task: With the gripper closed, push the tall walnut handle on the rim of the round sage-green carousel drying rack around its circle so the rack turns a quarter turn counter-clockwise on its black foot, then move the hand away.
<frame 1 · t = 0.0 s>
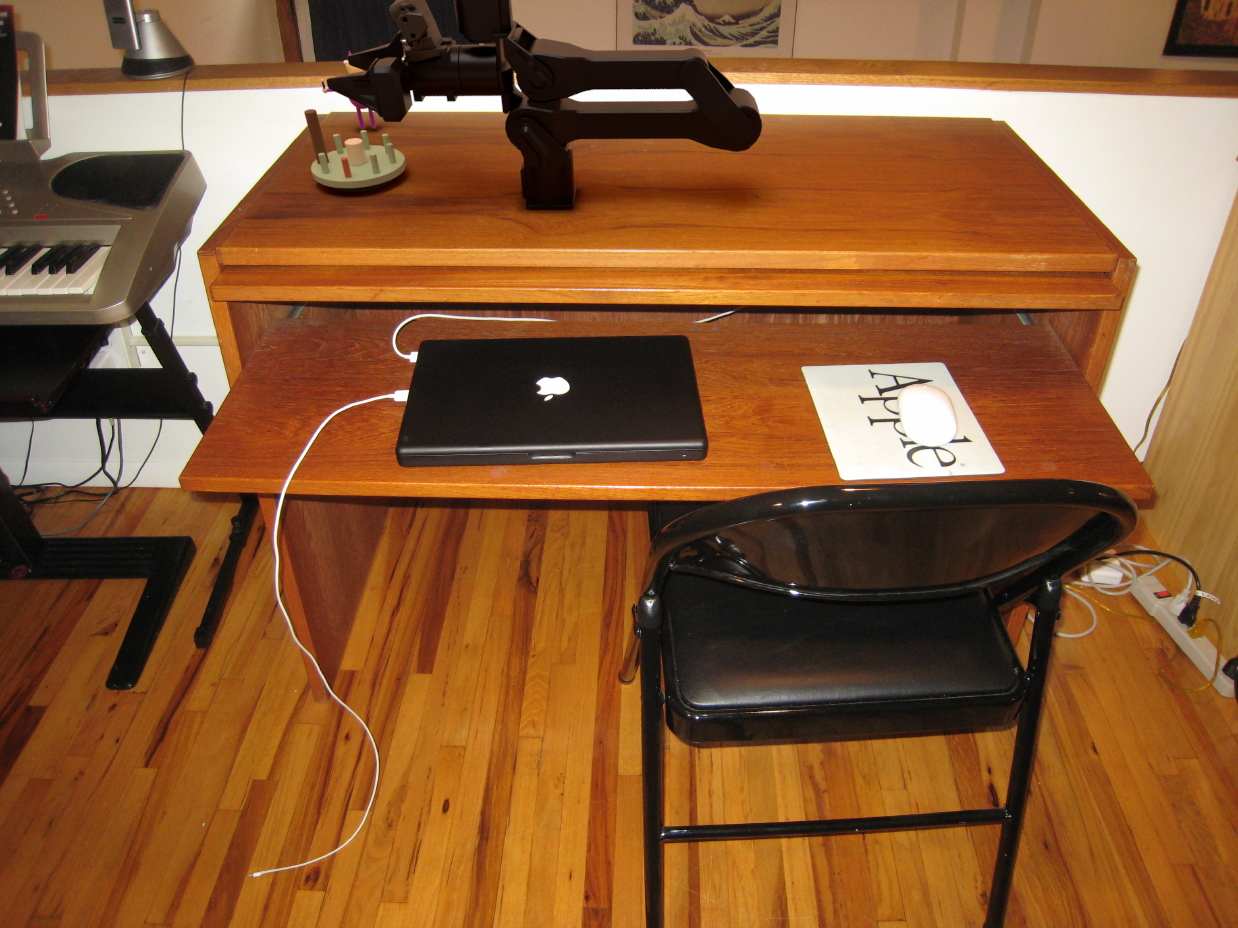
hand: (338, 71, 101), 17 cm above the table, tool horizontal, fingers open, 9 cm apart
drying rack: (353, 141, 114), point 5 cm above the table, hinge at 0.0°
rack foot: (362, 179, 117), on the table
wizard figurine: (368, 132, 132), on the table
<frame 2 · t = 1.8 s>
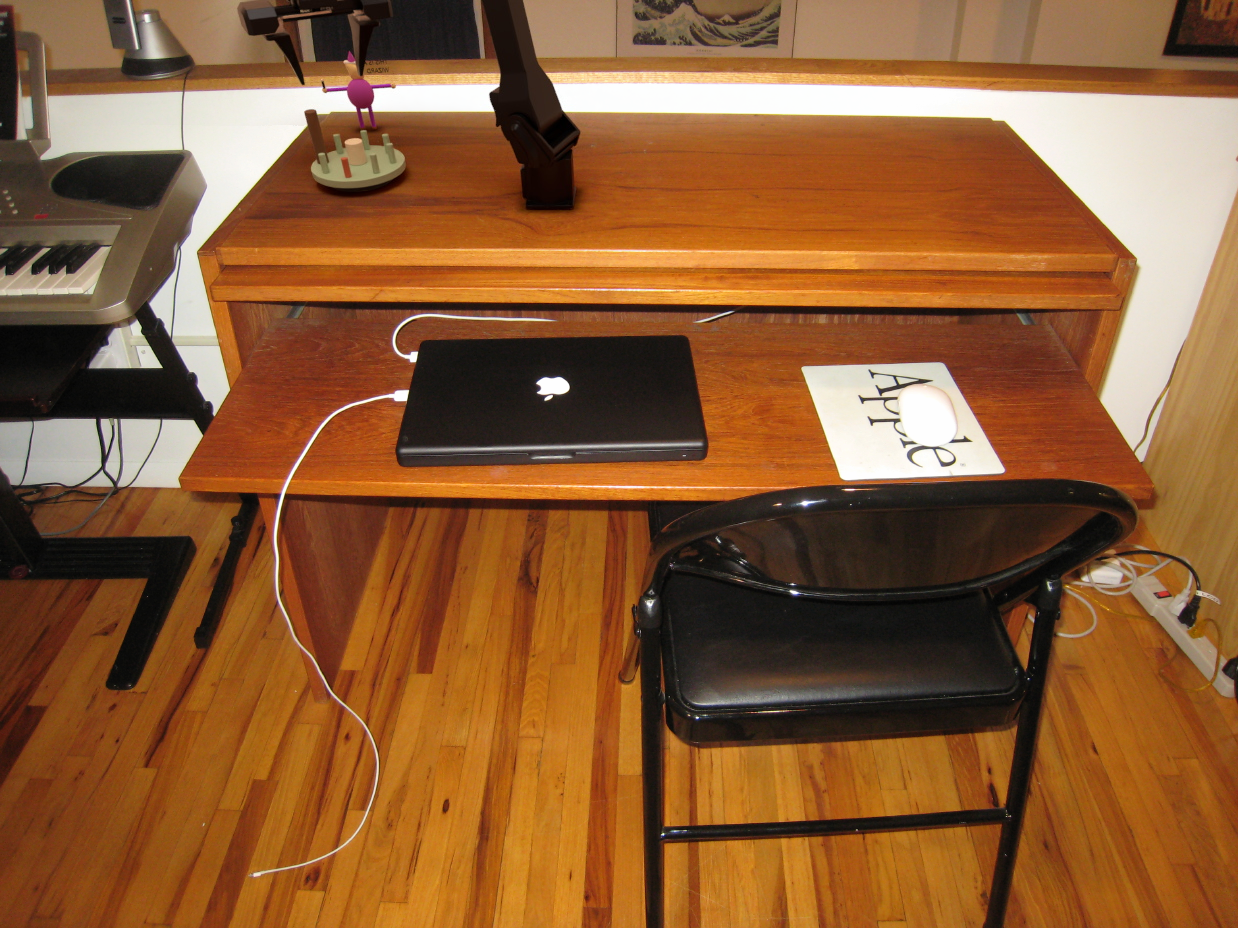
hand: (332, 80, 112), 12 cm above the table, tool pointing down, fingers open, 8 cm apart
nothing on the table moved.
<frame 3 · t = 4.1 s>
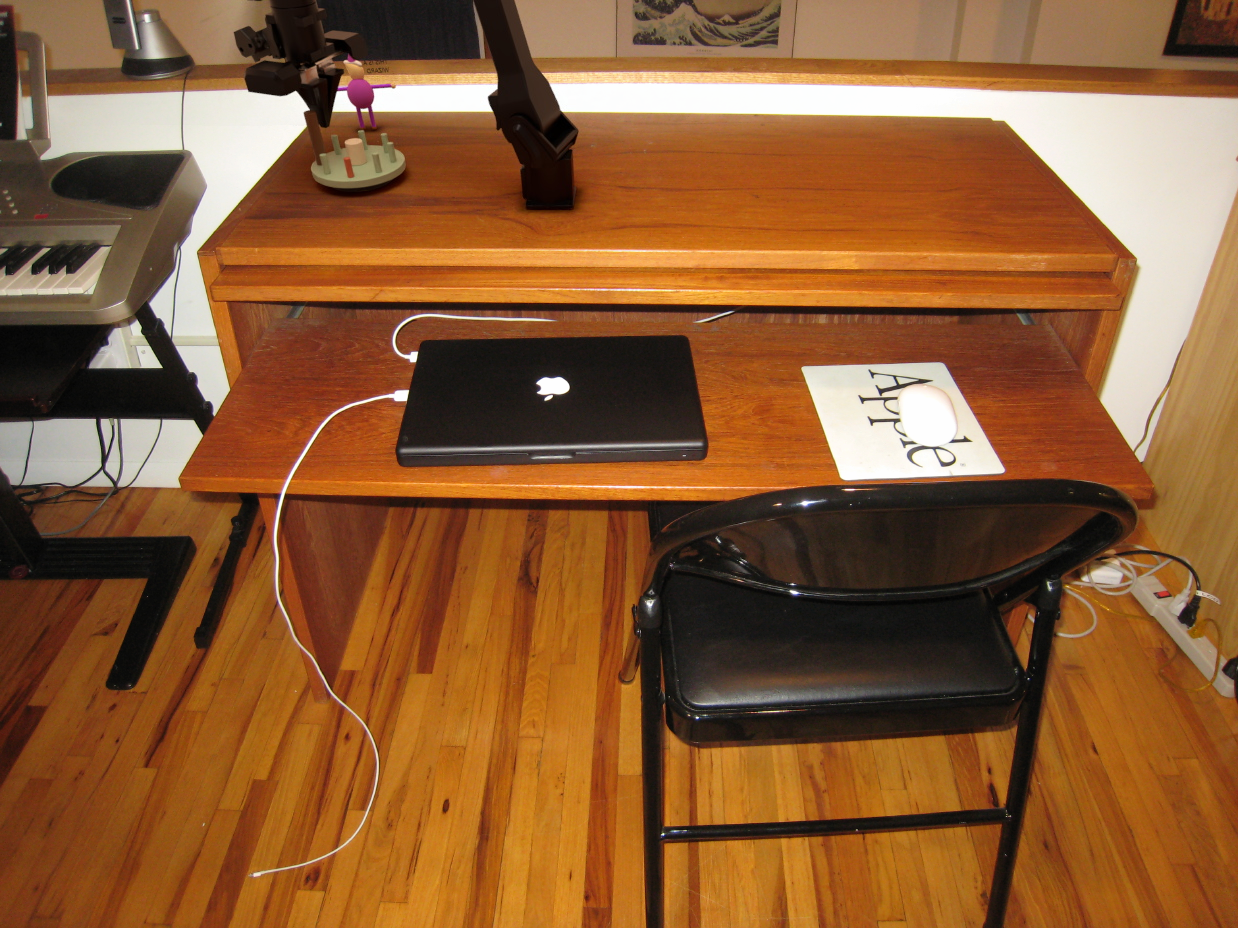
hand: (325, 127, 115), 7 cm above the table, tool pointing down, fingers closed
drying rack: (353, 141, 114), point 5 cm above the table, hinge at 4.1°, touching gripper
everything else where it was.
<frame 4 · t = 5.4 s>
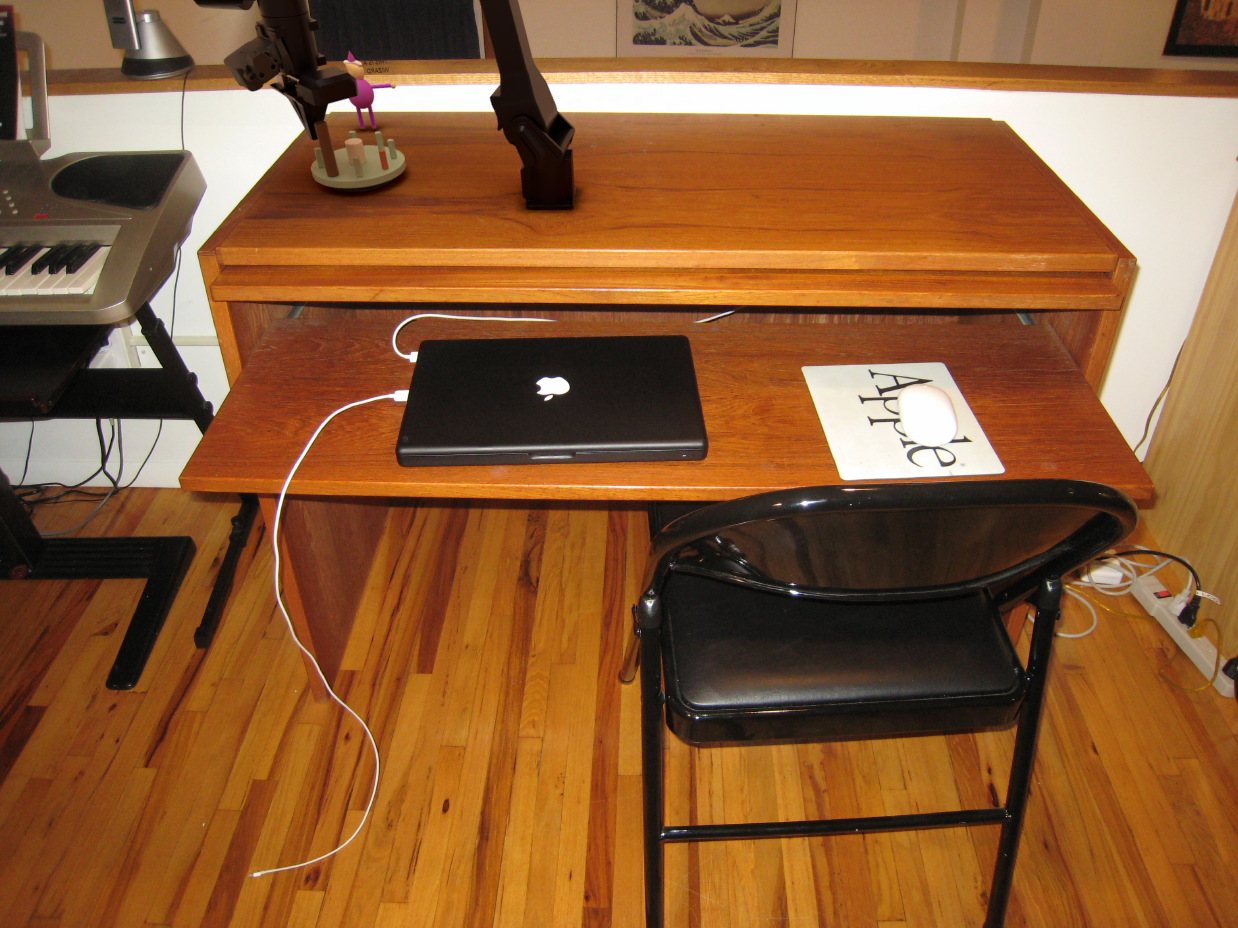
hand: (315, 139, 111), 7 cm above the table, tool pointing down, fingers closed
drying rack: (353, 141, 114), point 5 cm above the table, hinge at 63.2°, touching gripper
everything else where it was.
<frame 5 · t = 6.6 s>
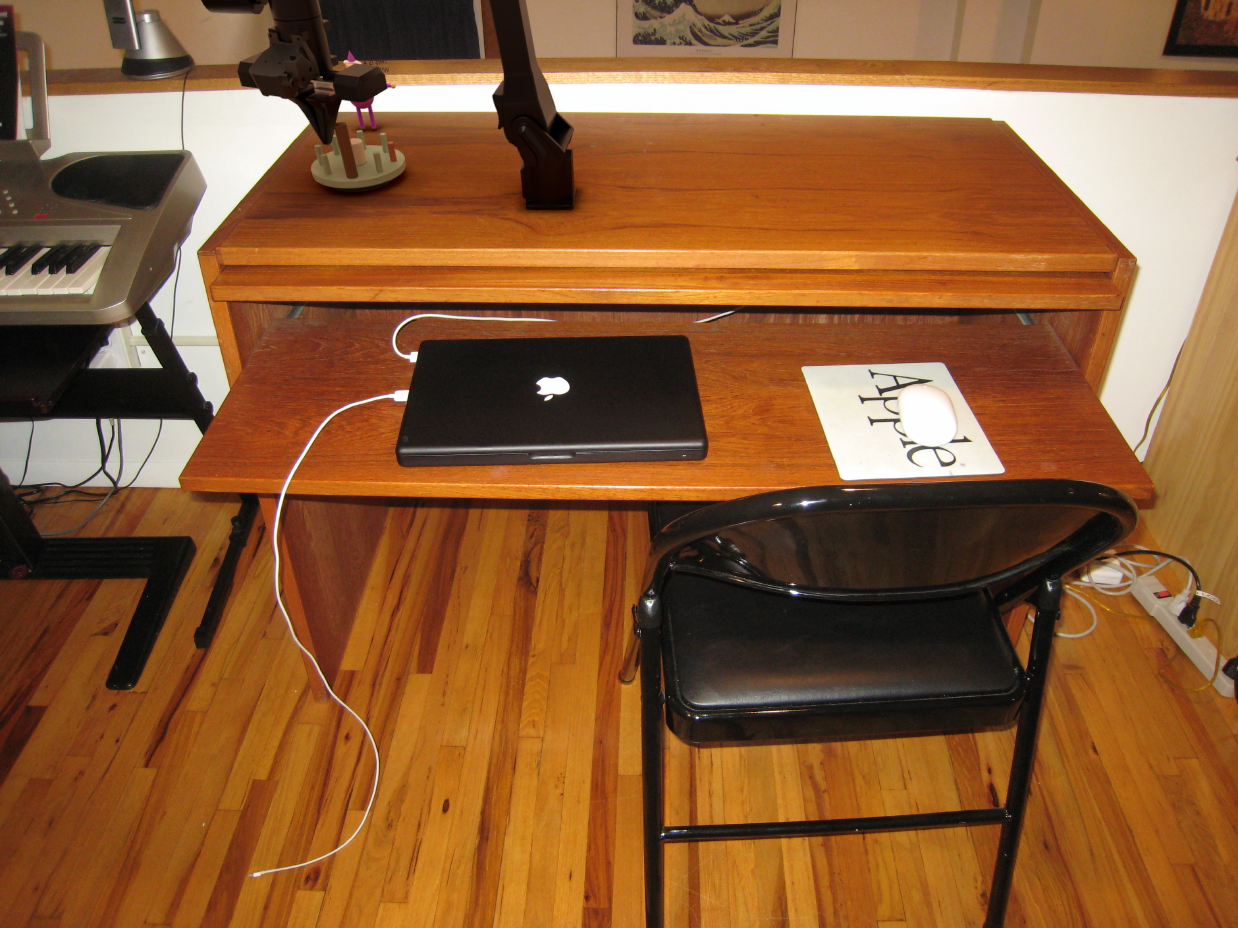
hand: (327, 144, 110), 7 cm above the table, tool pointing down, fingers closed
drying rack: (353, 141, 114), point 5 cm above the table, hinge at 96.4°, touching gripper
everything else where it was.
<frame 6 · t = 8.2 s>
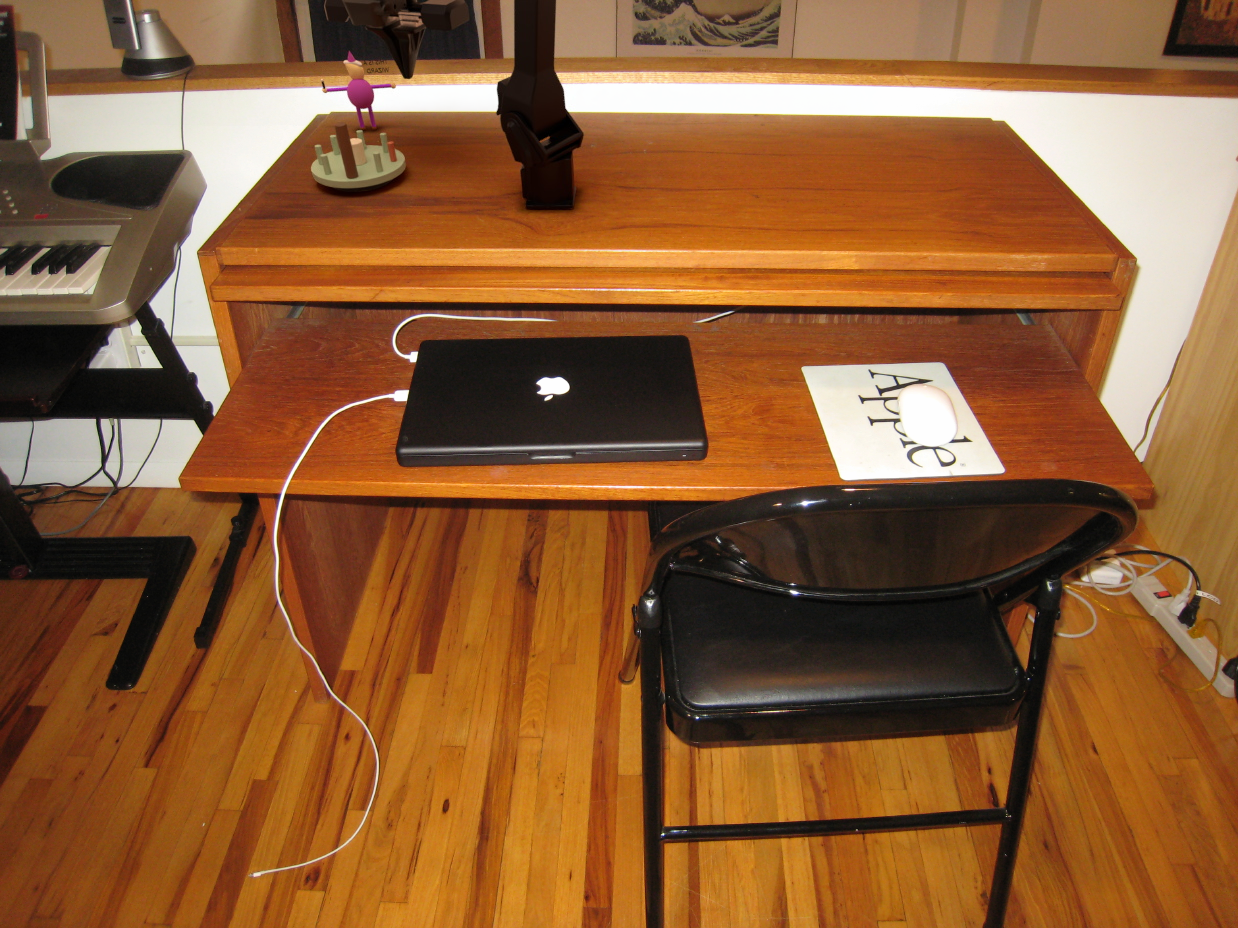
hand: (408, 78, 113), 12 cm above the table, tool pointing down, fingers closed
drying rack: (353, 141, 114), point 5 cm above the table, hinge at 96.4°
everything else where it was.
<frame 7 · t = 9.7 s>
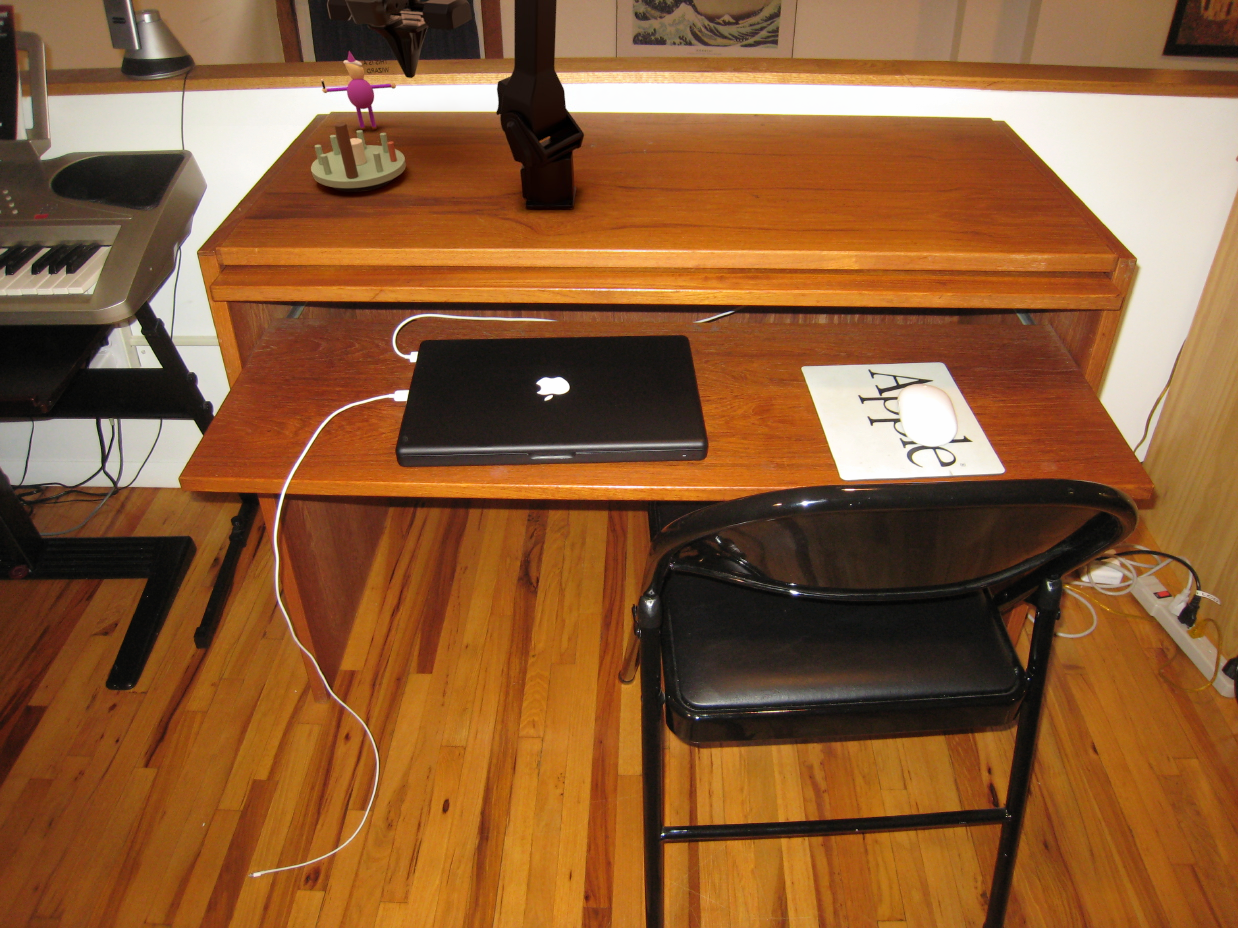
hand: (410, 77, 114), 12 cm above the table, tool pointing down, fingers closed
nothing on the table moved.
at the end: drying rack at +96° (first picture: +0°); the gripper is holding nothing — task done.
